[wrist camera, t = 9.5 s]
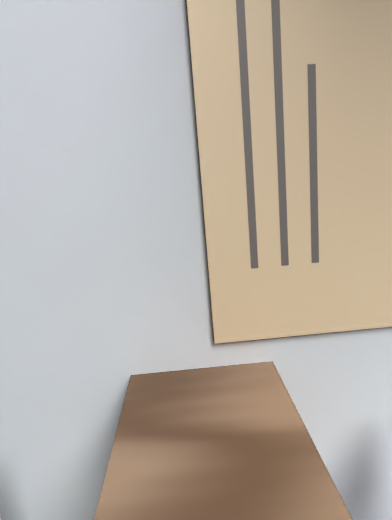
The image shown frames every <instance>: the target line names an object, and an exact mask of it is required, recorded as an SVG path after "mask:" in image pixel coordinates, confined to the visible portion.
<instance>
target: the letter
mask: <svg viewBox="0 0 392 520" xmlns="http://www.w3.org/2000/svg"><path fill="white" fill-rule="evenodd" d="M187 12H188V24H189V37H190V49H191V61H192V74H193V86H194V98H195V111H196V123H197V135H198V147H199V160H200V172H201V184H202V197H203V209H204V221H205V234H206V246H207V258H208V270H209V283H210V295H211V307H212V320H213V332H214V342H215V344H217V343H227V342H237V341H248V340H258V339H268V338H279V337H289V336H299V335H310V334H320V333H330V332H341V331H351V330H361V329H372V328H382V327H392V0H187Z"/></svg>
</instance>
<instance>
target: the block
mask: <svg viewBox="0 0 392 520" xmlns="http://www.w3.org/2000/svg"><path fill="white" fill-rule="evenodd" d="M94 520H352V518H351V516H350V514H349V512H348V510H347V508H346V506H345V504H344V502H343V500H342V498H341V496H340V494H339V492H338V490H337V488H336V486H335V484H334V482H333V480H332V478H331V476H330V474H329V472H328V470H327V468H326V467H325V465H324V463H323V461H322V459H321V457H320V455H319V453H318V451H317V449H316V447H315V445H314V443H313V441H312V439H311V437H310V435H309V433H308V431H307V429H306V427H305V425H304V423H303V421H302V419H301V417H300V415H299V413H298V411H297V409H296V407H295V405H294V403H293V401H292V399H291V397H290V395H289V393H288V391H287V389H286V387H285V385H284V383H283V381H282V379H281V377H280V375H279V373H278V371H277V369H276V367H275V365H274V363H273V361H272V362H261V363H251V364H241V365H231V366H221V367H210V368H200V369H190V370H180V371H169V372H159V373H149V374H139V375H131V377H130V381H129V385H128V389H127V393H126V397H125V401H124V404H123V408H122V412H121V416H120V420H119V424H118V428H117V432H116V436H115V439H114V443H113V447H112V451H111V455H110V459H109V463H108V467H107V471H106V474H105V478H104V482H103V486H102V490H101V494H100V498H99V502H98V506H97V509H96V513H95V517H94Z"/></svg>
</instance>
